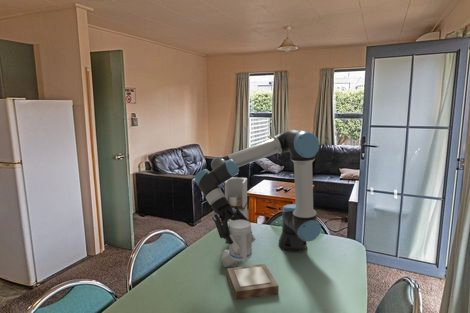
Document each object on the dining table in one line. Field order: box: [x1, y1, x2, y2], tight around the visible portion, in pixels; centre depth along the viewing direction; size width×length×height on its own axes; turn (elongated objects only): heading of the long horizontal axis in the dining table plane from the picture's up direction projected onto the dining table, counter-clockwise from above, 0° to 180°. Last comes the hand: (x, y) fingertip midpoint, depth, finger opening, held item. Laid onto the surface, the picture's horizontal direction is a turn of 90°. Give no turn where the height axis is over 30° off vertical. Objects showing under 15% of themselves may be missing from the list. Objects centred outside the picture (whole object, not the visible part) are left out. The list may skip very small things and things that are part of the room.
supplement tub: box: [228, 220, 253, 262], centre depth 130 cm, size 10×10×15 cm
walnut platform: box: [226, 263, 279, 301], centre depth 135 cm, size 18×18×4 cm
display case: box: [224, 177, 248, 243], centre depth 178 cm, size 11×11×35 cm
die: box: [220, 249, 238, 268], centre depth 151 cm, size 8×9×10 cm
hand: (245, 245), depth 128 cm, fingers closed on supplement tub, 10 cm apart
